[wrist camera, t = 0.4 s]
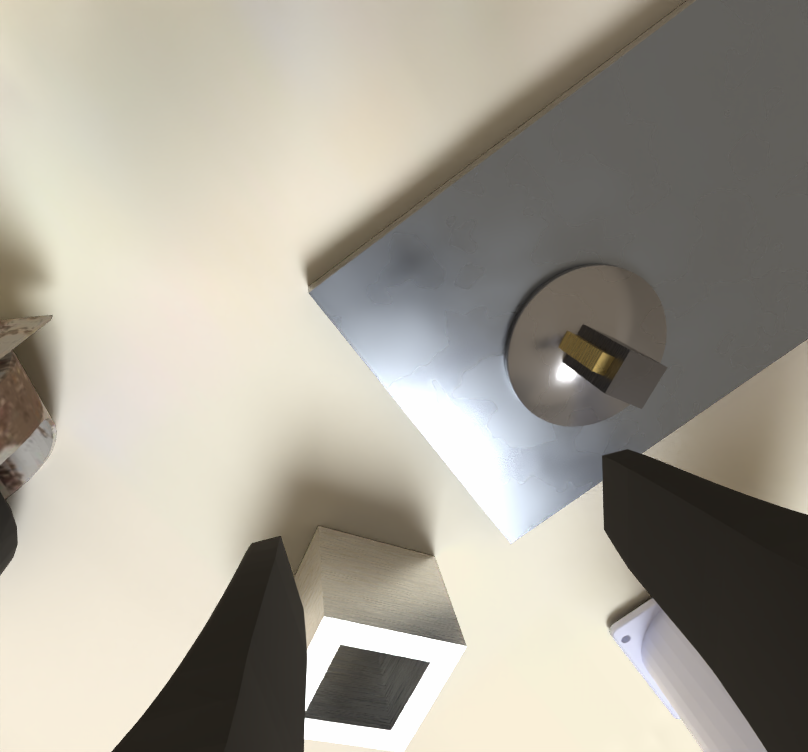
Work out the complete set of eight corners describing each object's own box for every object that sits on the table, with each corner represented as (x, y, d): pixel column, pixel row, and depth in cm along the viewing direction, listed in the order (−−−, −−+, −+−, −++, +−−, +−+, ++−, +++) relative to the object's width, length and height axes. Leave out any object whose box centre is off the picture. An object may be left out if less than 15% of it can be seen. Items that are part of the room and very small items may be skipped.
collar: (434, 556, 24) (466, 646, 20) (384, 648, 26) (403, 751, 21) (318, 525, 23) (324, 616, 18) (271, 625, 24) (265, 733, 20)
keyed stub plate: (884, 265, 23) (1010, 286, 19) (503, 529, 25) (544, 603, 21) (792, -81, 18) (943, -154, 14) (307, 286, 19) (311, 320, 15)
